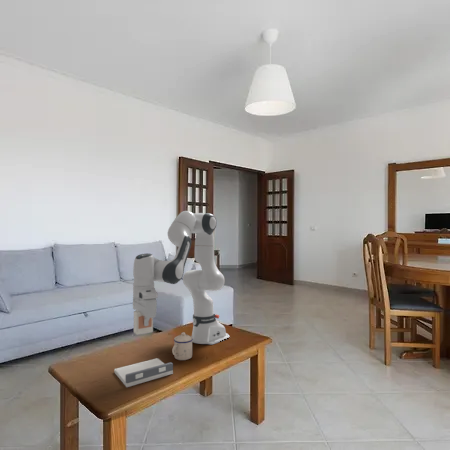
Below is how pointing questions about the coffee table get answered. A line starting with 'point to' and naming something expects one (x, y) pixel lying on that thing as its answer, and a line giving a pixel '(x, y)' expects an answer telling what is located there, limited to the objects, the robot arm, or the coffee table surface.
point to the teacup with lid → (182, 347)
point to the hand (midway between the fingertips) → (143, 323)
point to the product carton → (141, 324)
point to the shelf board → (143, 371)
